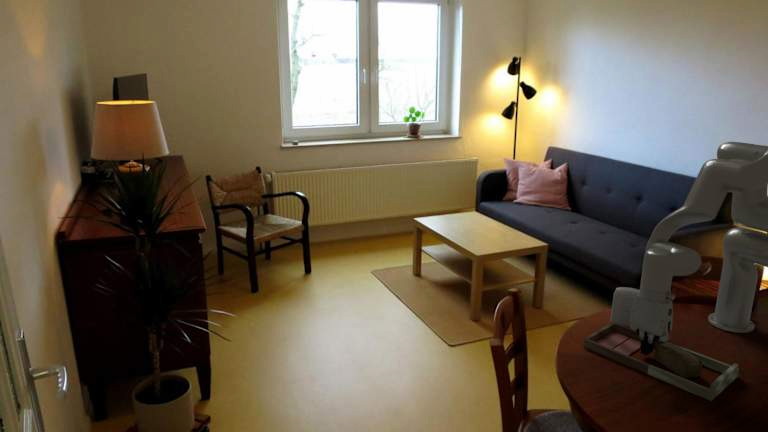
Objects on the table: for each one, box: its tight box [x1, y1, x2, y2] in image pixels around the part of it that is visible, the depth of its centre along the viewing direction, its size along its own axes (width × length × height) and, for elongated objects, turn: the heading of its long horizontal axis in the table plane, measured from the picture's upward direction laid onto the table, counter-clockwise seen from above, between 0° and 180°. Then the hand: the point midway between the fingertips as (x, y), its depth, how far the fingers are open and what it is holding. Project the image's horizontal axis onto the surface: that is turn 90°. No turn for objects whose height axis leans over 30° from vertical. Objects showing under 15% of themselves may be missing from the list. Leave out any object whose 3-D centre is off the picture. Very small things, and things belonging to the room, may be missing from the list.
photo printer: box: [610, 286, 640, 328], centre depth 177 cm, size 10×4×12 cm, turn 59°
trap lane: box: [583, 322, 740, 402], centre depth 156 cm, size 17×36×4 cm, turn 39°
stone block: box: [653, 342, 703, 379], centre depth 153 cm, size 6×12×5 cm, turn 18°
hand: (645, 353), depth 159 cm, fingers closed
